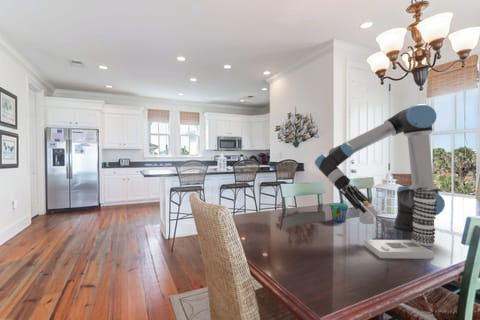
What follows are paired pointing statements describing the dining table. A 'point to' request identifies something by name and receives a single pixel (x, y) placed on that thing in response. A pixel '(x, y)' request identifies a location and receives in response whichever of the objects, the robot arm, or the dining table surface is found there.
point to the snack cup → (339, 211)
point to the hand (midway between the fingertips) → (374, 216)
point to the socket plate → (398, 249)
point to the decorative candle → (423, 216)
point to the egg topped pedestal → (363, 218)
